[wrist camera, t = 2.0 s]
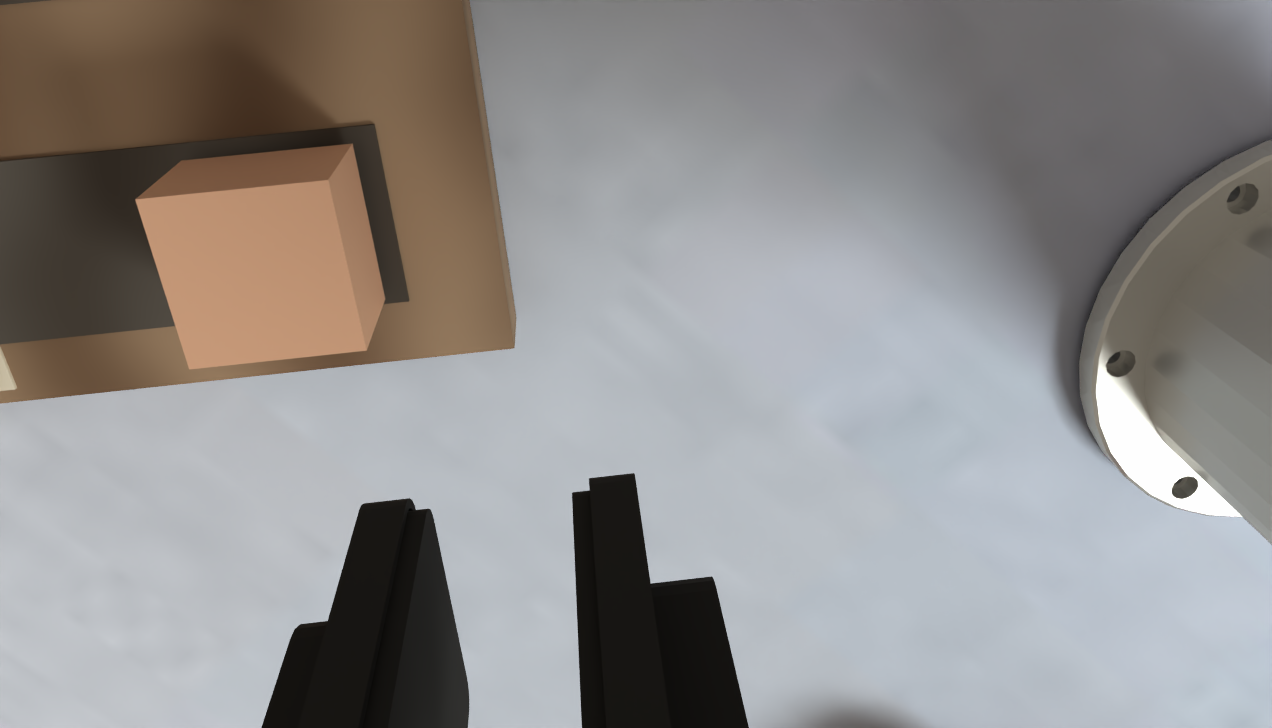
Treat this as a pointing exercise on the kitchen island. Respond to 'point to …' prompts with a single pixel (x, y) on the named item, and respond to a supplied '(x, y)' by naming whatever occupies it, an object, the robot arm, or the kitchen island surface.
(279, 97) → the switch board
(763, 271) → the kitchen island surface
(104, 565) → the kitchen island surface
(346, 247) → the tab
